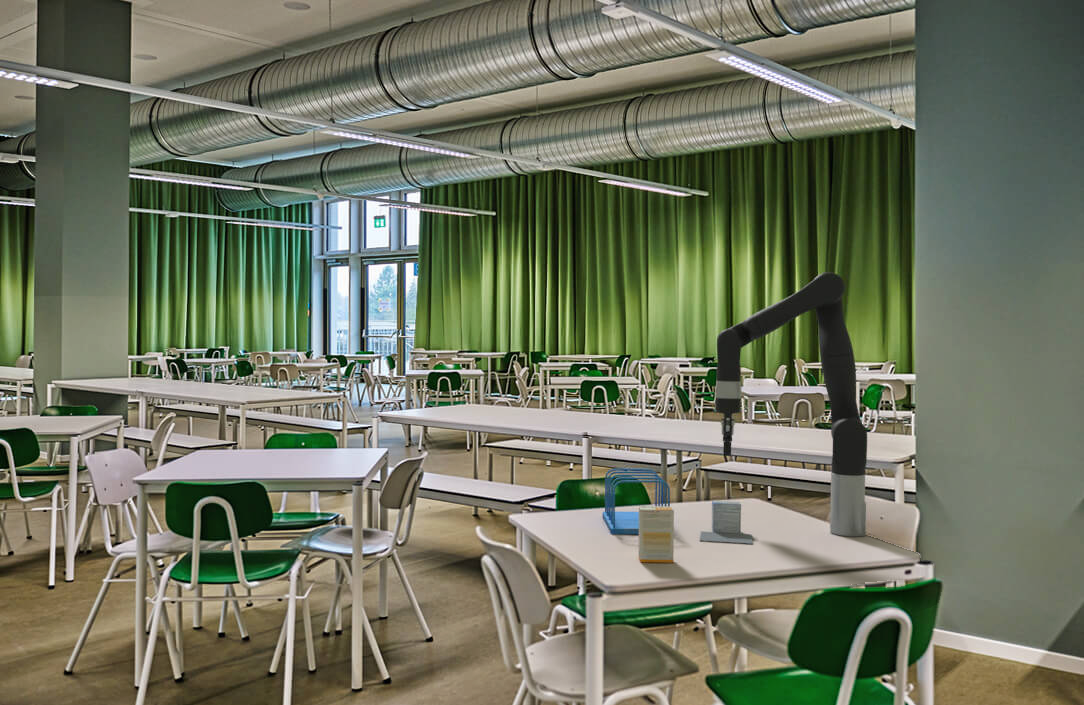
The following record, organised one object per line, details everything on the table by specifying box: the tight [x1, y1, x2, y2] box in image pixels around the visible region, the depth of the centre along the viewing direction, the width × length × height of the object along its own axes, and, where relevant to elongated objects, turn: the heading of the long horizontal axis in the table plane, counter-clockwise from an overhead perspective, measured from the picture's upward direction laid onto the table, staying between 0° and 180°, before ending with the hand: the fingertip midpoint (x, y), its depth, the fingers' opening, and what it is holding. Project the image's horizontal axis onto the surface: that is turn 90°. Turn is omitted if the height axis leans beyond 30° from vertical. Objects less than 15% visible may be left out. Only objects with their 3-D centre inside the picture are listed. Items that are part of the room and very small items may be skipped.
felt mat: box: [699, 530, 754, 545], centre depth 242 cm, size 14×12×1 cm
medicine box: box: [711, 500, 742, 534], centre depth 250 cm, size 8×4×9 cm, turn 84°
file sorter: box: [602, 468, 671, 535], centre depth 258 cm, size 25×17×15 cm
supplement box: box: [638, 505, 675, 564], centre depth 214 cm, size 8×5×13 cm, turn 88°
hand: (727, 455), depth 259 cm, fingers closed
